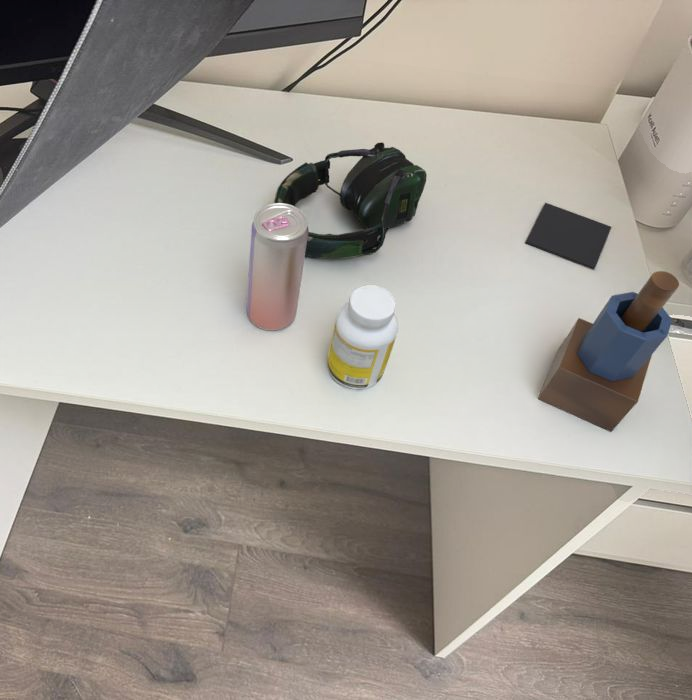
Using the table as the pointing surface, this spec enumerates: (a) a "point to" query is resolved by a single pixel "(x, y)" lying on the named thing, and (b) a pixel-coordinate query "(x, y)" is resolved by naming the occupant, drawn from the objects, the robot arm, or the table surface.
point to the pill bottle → (363, 337)
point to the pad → (569, 235)
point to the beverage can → (276, 265)
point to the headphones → (360, 198)
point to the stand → (592, 390)
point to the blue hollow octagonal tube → (620, 341)
